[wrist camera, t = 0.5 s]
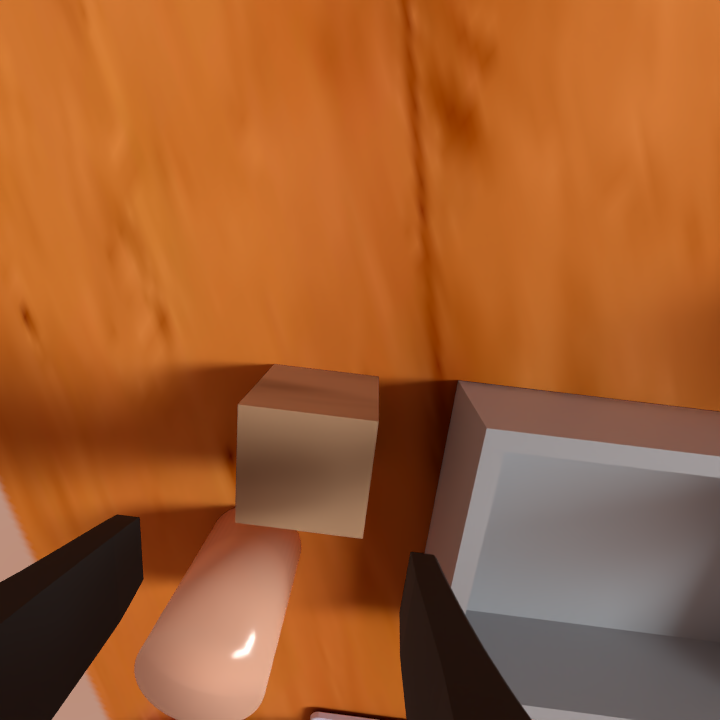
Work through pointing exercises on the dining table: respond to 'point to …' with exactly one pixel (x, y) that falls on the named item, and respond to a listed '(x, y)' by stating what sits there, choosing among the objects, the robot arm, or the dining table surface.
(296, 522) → the walnut cube
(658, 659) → the tote
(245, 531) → the peach capsule
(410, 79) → the dining table surface
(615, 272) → the dining table surface
